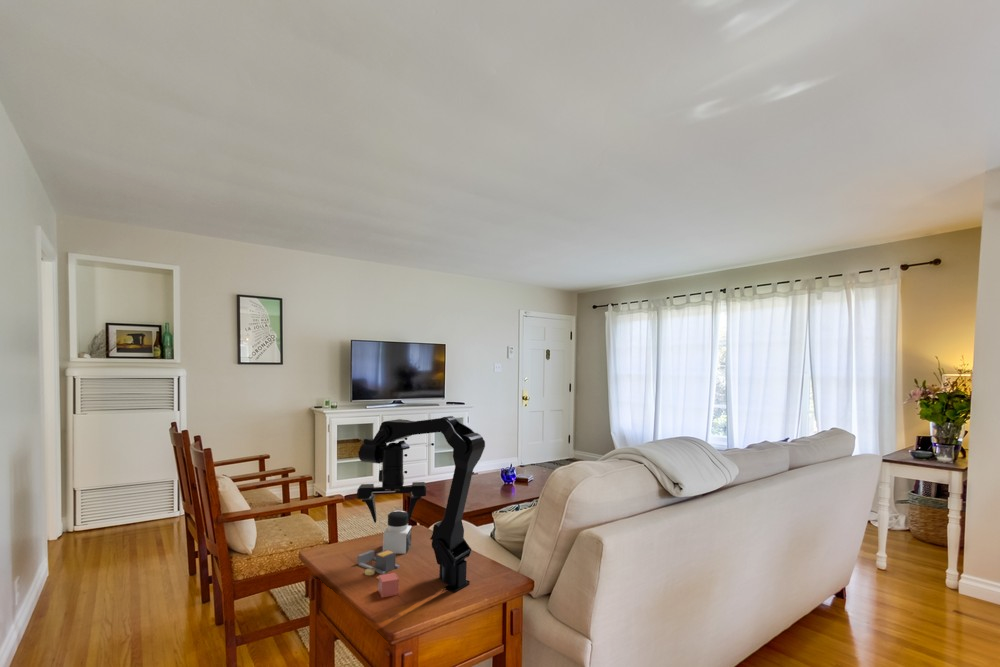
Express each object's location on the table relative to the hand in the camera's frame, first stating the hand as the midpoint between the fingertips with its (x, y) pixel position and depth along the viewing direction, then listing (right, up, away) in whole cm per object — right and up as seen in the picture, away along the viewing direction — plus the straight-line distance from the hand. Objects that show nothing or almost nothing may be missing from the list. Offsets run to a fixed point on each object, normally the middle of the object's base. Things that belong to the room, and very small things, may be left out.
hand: (392, 521), depth 139 cm
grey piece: (-3, -13, -5) cm, 14 cm away
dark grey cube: (-1, -11, -4) cm, 12 cm away
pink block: (+3, -12, -18) cm, 22 cm away
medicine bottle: (-1, -14, +10) cm, 17 cm away
